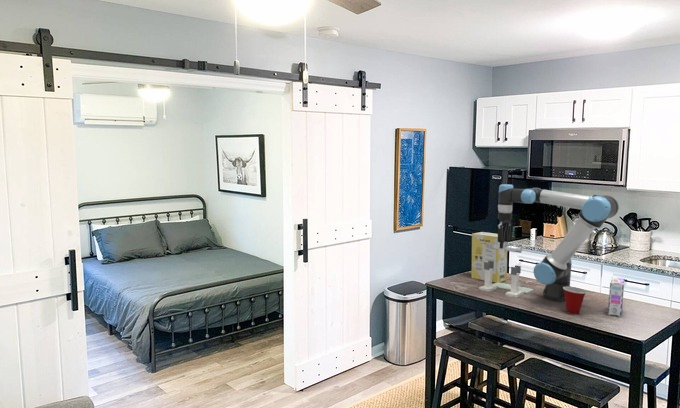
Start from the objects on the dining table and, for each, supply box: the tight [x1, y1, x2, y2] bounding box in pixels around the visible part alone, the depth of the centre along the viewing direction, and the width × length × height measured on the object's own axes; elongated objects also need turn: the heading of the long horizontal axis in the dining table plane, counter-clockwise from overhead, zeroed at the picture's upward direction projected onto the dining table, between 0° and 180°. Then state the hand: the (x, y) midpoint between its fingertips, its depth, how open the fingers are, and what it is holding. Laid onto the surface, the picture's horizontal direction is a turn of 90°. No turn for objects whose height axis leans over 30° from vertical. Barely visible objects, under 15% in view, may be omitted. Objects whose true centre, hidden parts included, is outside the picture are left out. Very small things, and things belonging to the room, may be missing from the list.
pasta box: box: [471, 231, 508, 283], centre depth 310 cm, size 18×10×28 cm, turn 41°
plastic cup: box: [563, 286, 588, 315], centre depth 249 cm, size 11×11×12 cm
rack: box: [478, 261, 525, 298], centre depth 283 cm, size 22×10×16 cm, turn 47°
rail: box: [486, 243, 523, 254], centre depth 281 cm, size 20×3×3 cm, turn 47°
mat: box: [492, 282, 535, 295], centre depth 292 cm, size 22×10×1 cm, turn 47°
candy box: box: [607, 276, 625, 318], centre depth 249 cm, size 14×6×16 cm, turn 148°
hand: (503, 253), depth 281 cm, fingers closed on rail, 3 cm apart
